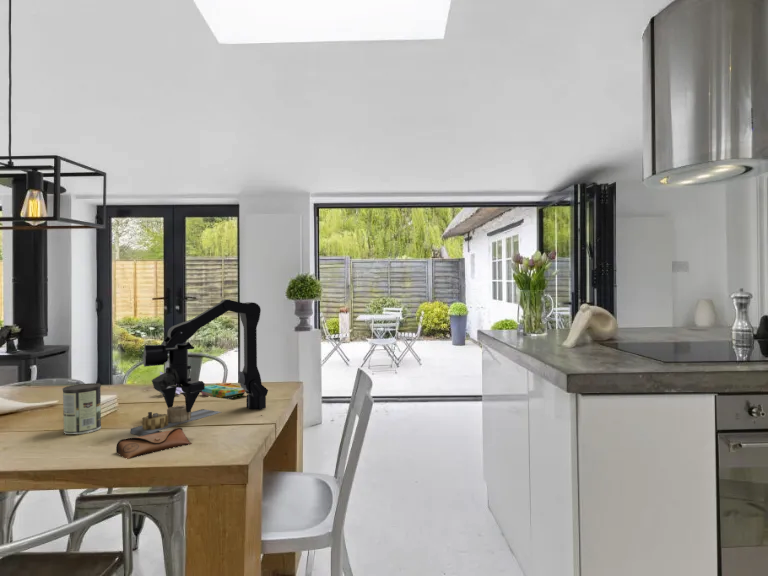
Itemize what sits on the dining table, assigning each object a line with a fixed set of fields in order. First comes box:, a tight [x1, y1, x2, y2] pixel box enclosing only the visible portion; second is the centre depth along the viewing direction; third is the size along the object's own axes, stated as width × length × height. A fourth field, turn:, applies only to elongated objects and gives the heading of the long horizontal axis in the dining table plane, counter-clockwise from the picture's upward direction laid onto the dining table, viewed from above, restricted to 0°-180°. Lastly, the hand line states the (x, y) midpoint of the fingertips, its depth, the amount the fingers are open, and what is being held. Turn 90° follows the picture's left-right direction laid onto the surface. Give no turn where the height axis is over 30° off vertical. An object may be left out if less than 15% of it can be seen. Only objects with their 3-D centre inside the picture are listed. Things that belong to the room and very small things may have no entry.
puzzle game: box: [200, 382, 246, 400], centre depth 196 cm, size 12×5×20 cm
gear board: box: [130, 408, 222, 437], centre depth 153 cm, size 10×27×6 cm, turn 151°
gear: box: [166, 404, 192, 423], centre depth 153 cm, size 7×7×4 cm
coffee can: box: [62, 382, 102, 435], centre depth 148 cm, size 10×10×14 cm
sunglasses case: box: [115, 427, 193, 460], centre depth 130 cm, size 18×7×7 cm
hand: (179, 410), depth 153 cm, fingers open, 9 cm apart
